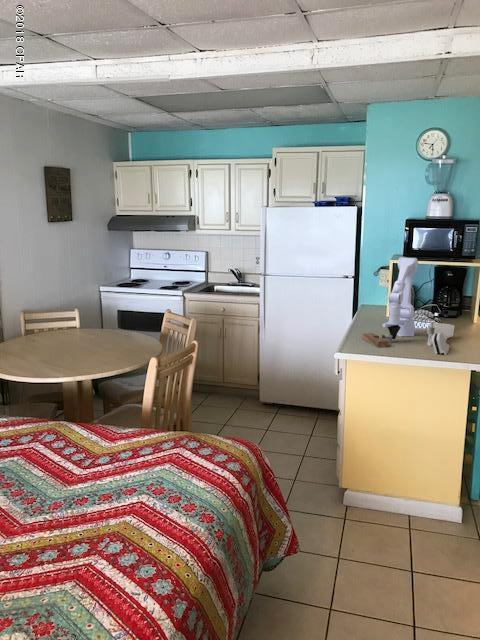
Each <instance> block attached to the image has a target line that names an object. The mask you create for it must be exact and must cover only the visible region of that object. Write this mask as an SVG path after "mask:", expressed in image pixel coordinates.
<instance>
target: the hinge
mask: <svg viewBox="0 0 480 640" xmlns="http://www.w3.org/2000/svg"><path fill="white" fill-rule="evenodd" d="M431 345H432V348H433V351H434V355H438V354H444V356H447V354H448V352H449V350H450V349H451V348H450V344H448V343H447V340H446V341H445V338H444V335H443V333H438V334H434V335H433V336H432V344H431ZM449 348H450V349H449Z"/></svg>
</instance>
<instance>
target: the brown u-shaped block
mask: <svg viewBox="0 0 480 640" xmlns="http://www.w3.org/2000/svg"><path fill="white" fill-rule="evenodd" d="M361 335H362V336H361V340H363V341H365V342H366V343H369V344H370V345H372V346H375V347H377V348H386V347H389V348H390V347H391V343H390V341H389V340H387V339H385V338H382V337H381V338H380V335H379V334H377V333H375V332H370V333H362V334H361Z"/></svg>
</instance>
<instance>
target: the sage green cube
mask: <svg viewBox="0 0 480 640" xmlns="http://www.w3.org/2000/svg"><path fill="white" fill-rule="evenodd" d="M381 338H385V339H387V340H389V341H390V344H391V343H393V339H392V335H391V334H390V333H382V334H381Z"/></svg>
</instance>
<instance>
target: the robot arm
mask: <svg viewBox="0 0 480 640" xmlns="http://www.w3.org/2000/svg"><path fill="white" fill-rule="evenodd" d="M397 267H398V270H399V272H398V275H397V276H398V277H397V280H396V281H394V284H393V287H392V290H391V292H390V293H389V295H388V306H389V315H388V320H387V322H383V323H382V327H383V328H387V329H388V331H389V334H391V335H392V340H396V338H397V336H398V337H402V338H403V337H414V336H415V325H416V324H415V321H414V314H415V308H414V305H413V304H412V303H410V299H411V294H412V293H411V292H412V287H413V279H414V275H415V274H417V271H418V267H419V260H418V258H417V257H402V256H400V257H399V258H398V260H397Z"/></svg>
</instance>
